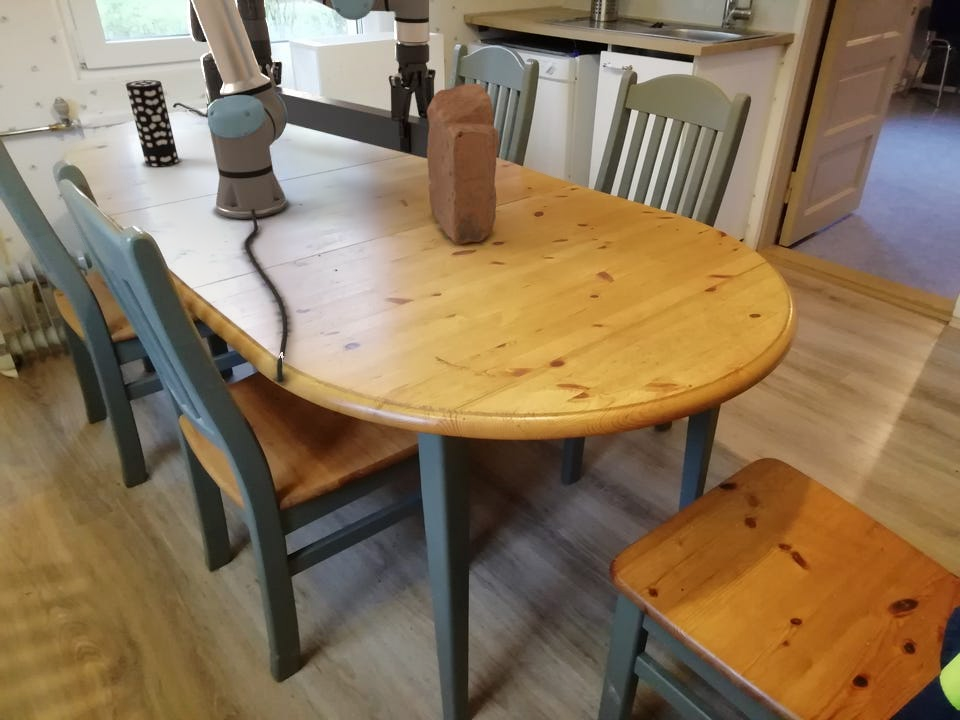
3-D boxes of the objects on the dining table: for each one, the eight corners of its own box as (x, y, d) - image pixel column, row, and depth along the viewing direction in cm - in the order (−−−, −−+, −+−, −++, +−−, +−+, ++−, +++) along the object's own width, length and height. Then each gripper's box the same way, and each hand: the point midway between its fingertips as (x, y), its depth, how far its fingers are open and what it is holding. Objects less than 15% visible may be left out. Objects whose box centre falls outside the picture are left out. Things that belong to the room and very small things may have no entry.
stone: (507, 241, 142) (509, 97, 128) (455, 247, 139) (451, 101, 125) (475, 209, 160) (474, 80, 146) (428, 214, 157) (422, 83, 143)
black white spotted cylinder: (184, 157, 190) (167, 80, 179) (169, 166, 183) (151, 87, 172) (155, 156, 190) (136, 79, 179) (139, 165, 183) (119, 86, 172)
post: (442, 154, 163) (441, 121, 159) (428, 159, 159) (427, 125, 155) (258, 109, 197) (254, 81, 193) (244, 112, 194) (239, 84, 190)
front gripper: (425, 36, 160) (426, 138, 172) (370, 44, 147) (375, 153, 160) (451, 40, 156) (449, 144, 169) (397, 49, 143) (400, 160, 156)
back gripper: (267, 32, 188) (276, 97, 197) (223, 38, 178) (234, 106, 188) (285, 35, 184) (293, 101, 194) (241, 41, 175) (251, 110, 184)
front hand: (413, 148), depth 164 cm, fingers closed on post, 5 cm apart
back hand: (264, 103), depth 191 cm, fingers closed on post, 5 cm apart
